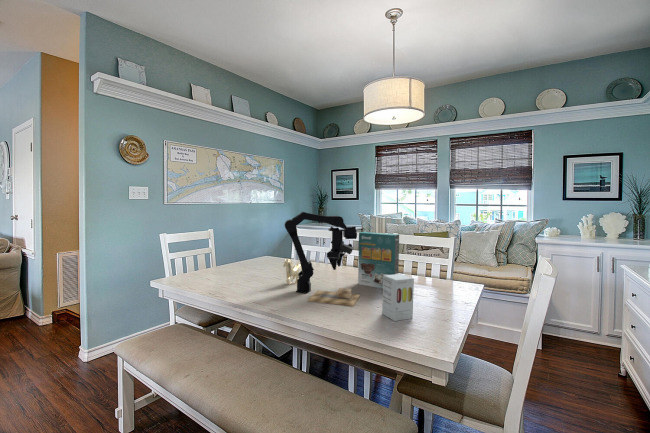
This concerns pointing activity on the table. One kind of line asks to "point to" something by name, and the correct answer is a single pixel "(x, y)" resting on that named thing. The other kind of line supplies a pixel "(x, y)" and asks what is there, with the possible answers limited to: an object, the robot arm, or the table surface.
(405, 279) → the supplement box
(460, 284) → the table surface
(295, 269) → the unicorn
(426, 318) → the table surface
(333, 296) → the board
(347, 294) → the block
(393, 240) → the cake mix box
